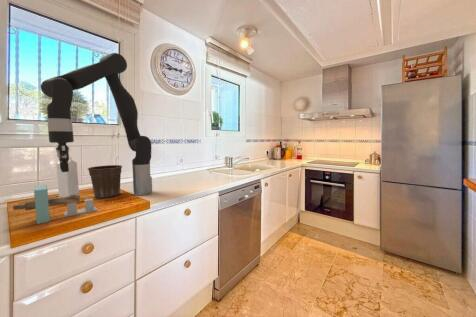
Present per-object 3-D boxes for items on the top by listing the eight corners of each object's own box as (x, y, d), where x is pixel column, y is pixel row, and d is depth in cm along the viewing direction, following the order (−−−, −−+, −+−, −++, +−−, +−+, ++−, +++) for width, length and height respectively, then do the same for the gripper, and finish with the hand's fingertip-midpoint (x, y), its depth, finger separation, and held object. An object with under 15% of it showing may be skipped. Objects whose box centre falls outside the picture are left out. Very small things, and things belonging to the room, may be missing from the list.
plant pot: (85, 200, 105) (83, 169, 104) (93, 193, 120) (92, 165, 119) (121, 197, 111) (120, 168, 110) (125, 190, 126) (124, 164, 125)
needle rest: (95, 208, 94) (94, 197, 94) (97, 210, 91) (96, 199, 90) (64, 214, 87) (63, 202, 86) (64, 216, 83) (63, 204, 83)
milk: (69, 199, 108) (65, 157, 105) (58, 199, 108) (55, 157, 106) (79, 196, 114) (76, 156, 111) (69, 196, 114) (66, 156, 112)
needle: (78, 200, 89) (78, 193, 89) (79, 201, 87) (79, 194, 87) (14, 210, 76) (13, 202, 76) (13, 212, 74) (12, 204, 74)
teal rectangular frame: (49, 215, 85) (47, 185, 84) (49, 221, 79) (47, 189, 78) (37, 217, 83) (35, 186, 82) (37, 224, 76) (34, 190, 75)
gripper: (74, 130, 80) (78, 171, 81) (71, 131, 90) (74, 168, 92) (48, 129, 75) (52, 174, 76) (48, 130, 85) (51, 169, 87)
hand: (64, 170), depth 84 cm, fingers open, 8 cm apart
